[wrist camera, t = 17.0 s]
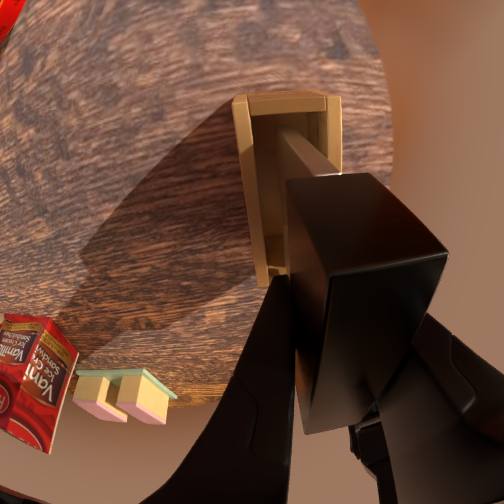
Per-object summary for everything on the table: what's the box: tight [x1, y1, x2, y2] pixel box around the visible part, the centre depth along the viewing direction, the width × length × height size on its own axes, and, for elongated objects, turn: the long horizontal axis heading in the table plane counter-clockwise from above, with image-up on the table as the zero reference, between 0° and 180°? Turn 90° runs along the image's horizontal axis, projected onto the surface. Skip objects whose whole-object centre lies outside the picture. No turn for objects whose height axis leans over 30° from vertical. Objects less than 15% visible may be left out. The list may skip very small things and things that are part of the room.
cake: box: [72, 376, 128, 422], centre depth 28 cm, size 6×5×4 cm
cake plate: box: [76, 368, 177, 399], centre depth 29 cm, size 8×12×1 cm, turn 107°
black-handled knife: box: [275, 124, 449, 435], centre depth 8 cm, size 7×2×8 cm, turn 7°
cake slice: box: [116, 375, 169, 424], centre depth 27 cm, size 6×3×4 cm, turn 17°
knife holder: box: [231, 89, 342, 287], centre depth 13 cm, size 9×4×4 cm, turn 7°
